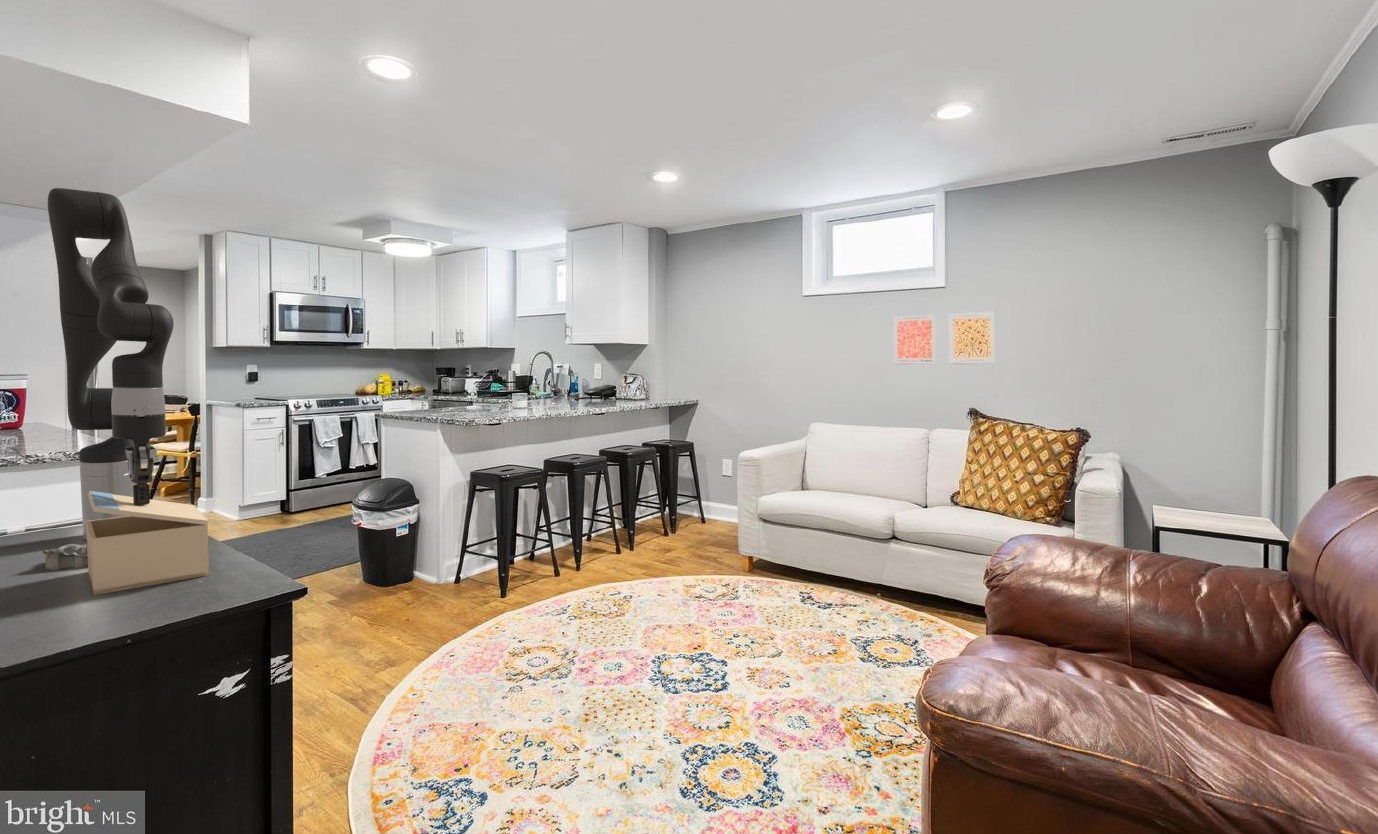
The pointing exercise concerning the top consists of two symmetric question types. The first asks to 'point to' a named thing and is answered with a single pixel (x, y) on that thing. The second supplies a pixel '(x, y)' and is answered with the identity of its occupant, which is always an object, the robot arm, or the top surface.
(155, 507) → the box lid
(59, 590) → the top surface
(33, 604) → the top surface
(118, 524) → the cardboard box
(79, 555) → the egg carton
